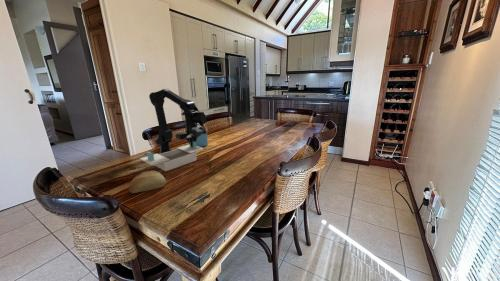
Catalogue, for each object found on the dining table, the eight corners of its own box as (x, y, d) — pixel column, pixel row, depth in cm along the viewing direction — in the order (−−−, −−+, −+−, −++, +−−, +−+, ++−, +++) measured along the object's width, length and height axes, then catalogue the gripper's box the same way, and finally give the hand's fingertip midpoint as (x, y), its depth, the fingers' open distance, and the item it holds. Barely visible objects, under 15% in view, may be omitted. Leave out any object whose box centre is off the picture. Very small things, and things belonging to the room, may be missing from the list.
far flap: (177, 148, 130) (176, 141, 129) (190, 144, 137) (189, 138, 136) (190, 153, 121) (189, 146, 120) (203, 149, 128) (203, 142, 127)
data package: (207, 144, 156) (205, 128, 153) (207, 145, 152) (206, 129, 149) (190, 145, 153) (188, 130, 149) (191, 147, 149) (189, 131, 145)
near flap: (140, 159, 114) (138, 151, 113) (157, 154, 121) (155, 147, 120) (151, 165, 105) (150, 157, 104) (169, 160, 112) (168, 152, 111)
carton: (152, 164, 120) (151, 156, 119) (183, 154, 135) (182, 147, 133) (165, 171, 111) (164, 162, 109) (196, 160, 125) (196, 152, 124)
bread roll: (129, 189, 93) (125, 173, 91) (164, 180, 101) (161, 165, 99) (130, 199, 86) (127, 181, 83) (168, 188, 93) (166, 172, 91)
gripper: (184, 127, 114) (187, 153, 119) (210, 121, 128) (212, 145, 132) (173, 124, 121) (176, 149, 126) (200, 119, 135) (202, 142, 139)
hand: (192, 146), depth 130 cm, fingers closed on far flap
